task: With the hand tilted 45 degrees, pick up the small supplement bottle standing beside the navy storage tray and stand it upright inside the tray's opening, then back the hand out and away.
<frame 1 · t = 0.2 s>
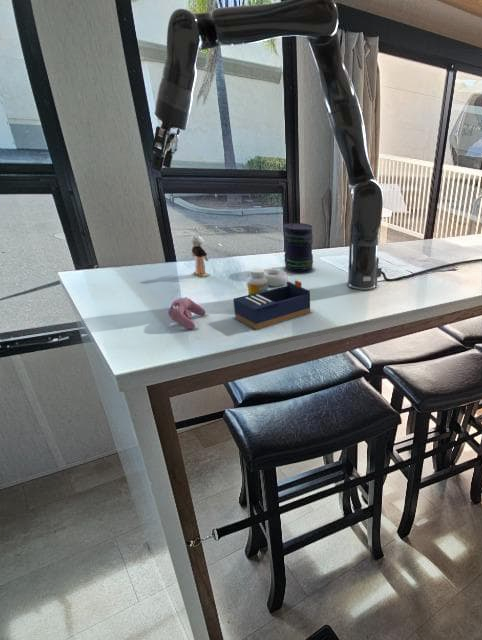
hand: (161, 168, 114), 31 cm above the table, tool tilted 20°, fingers open, 8 cm apart
supplement bottle: (259, 303, 122), on the table
navy storage tray: (274, 315, 115), on the table
storage jar: (299, 269, 151), on the table
donut: (272, 282, 137), on the table
grandmother figurine: (202, 275, 136), on the table
video game controller: (188, 322, 107), on the table
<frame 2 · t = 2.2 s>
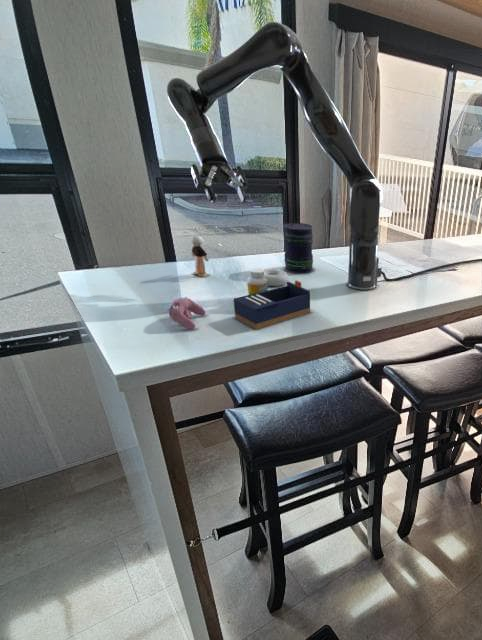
hand: (229, 200, 119), 25 cm above the table, tool tilted 45°, fingers open, 8 cm apart
nothing on the table moved.
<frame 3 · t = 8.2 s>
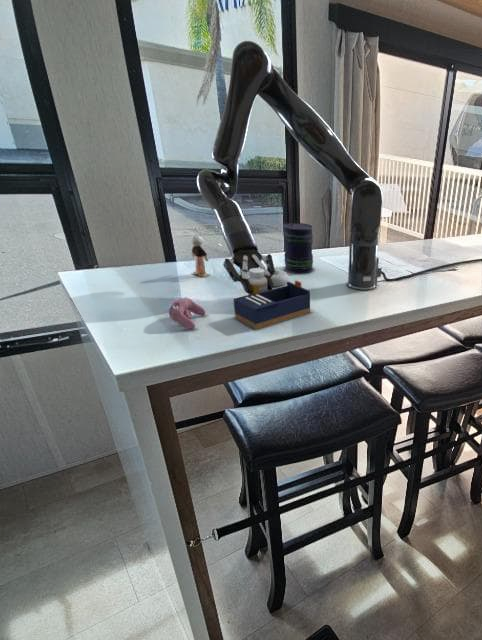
hand: (261, 291, 118), 4 cm above the table, tool tilted 45°, fingers closed on supplement bottle, 5 cm apart
supplement bottle: (259, 303, 122), on the table, touching gripper
everything else where it was.
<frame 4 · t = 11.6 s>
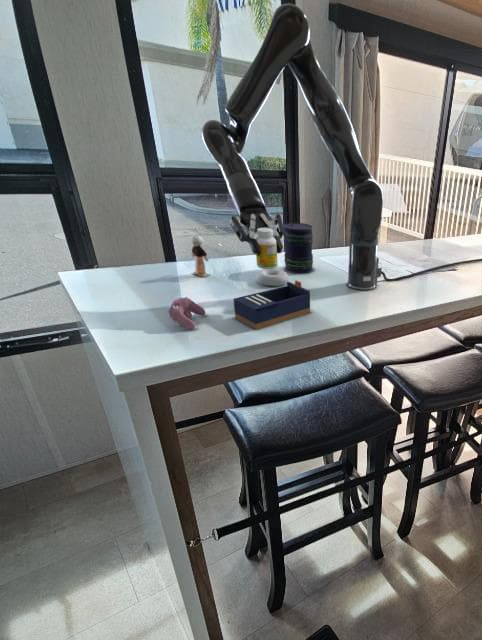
hand: (269, 252, 110), 16 cm above the table, tool tilted 45°, fingers closed on supplement bottle, 5 cm apart
supplement bottle: (267, 267, 114), point 12 cm above the table, touching gripper
everything else where it was.
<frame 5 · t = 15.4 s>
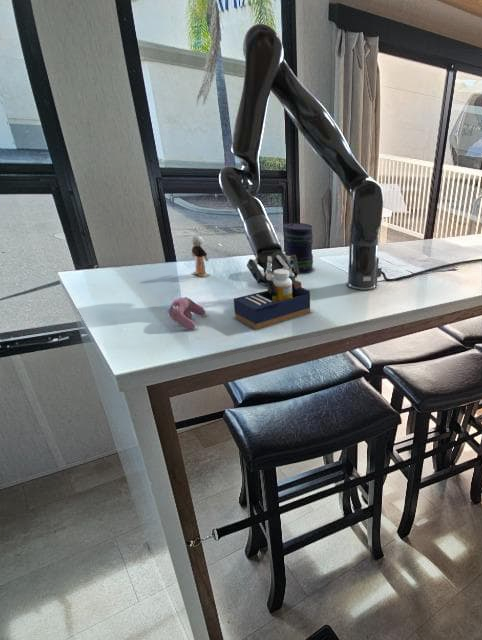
hand: (285, 293, 113), 6 cm above the table, tool tilted 45°, fingers closed on supplement bottle, 5 cm apart
supplement bottle: (282, 306, 117), point 2 cm above the table, touching gripper
everything else where it was.
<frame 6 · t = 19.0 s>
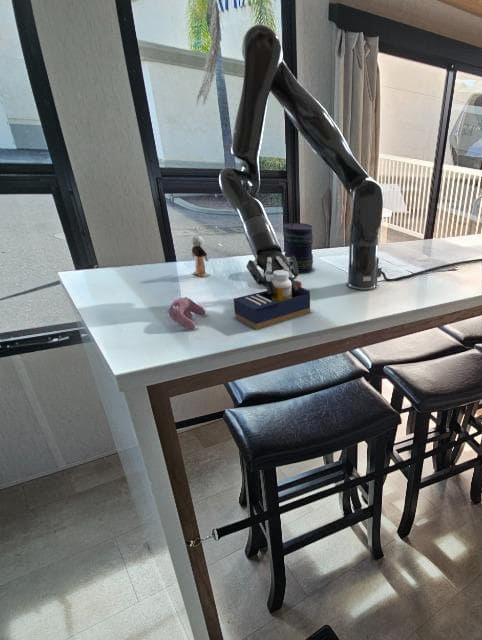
hand: (284, 294, 113), 6 cm above the table, tool tilted 45°, fingers closed on supplement bottle, 5 cm apart
supplement bottle: (282, 307, 117), point 2 cm above the table, touching gripper
everything else where it was.
when the fingers open (7 cm above the table, at t = 22.2 s): supplement bottle stays where it is, resting on navy storage tray.
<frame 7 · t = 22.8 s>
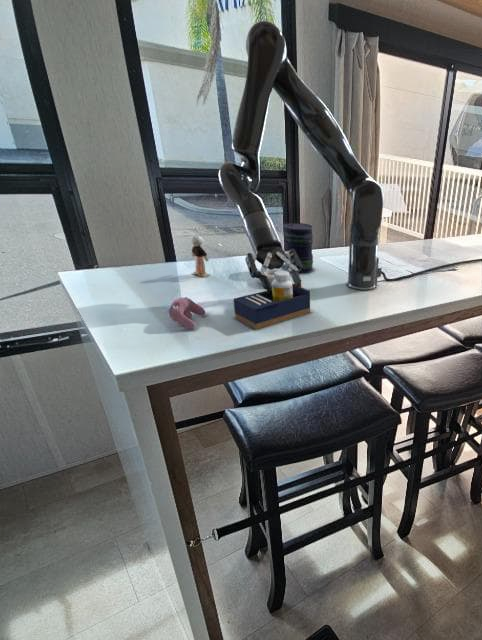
hand: (284, 287, 113), 8 cm above the table, tool tilted 45°, fingers open, 8 cm apart
supplement bottle: (283, 307, 117), point 1 cm above the table, touching navy storage tray
everything else where it was.
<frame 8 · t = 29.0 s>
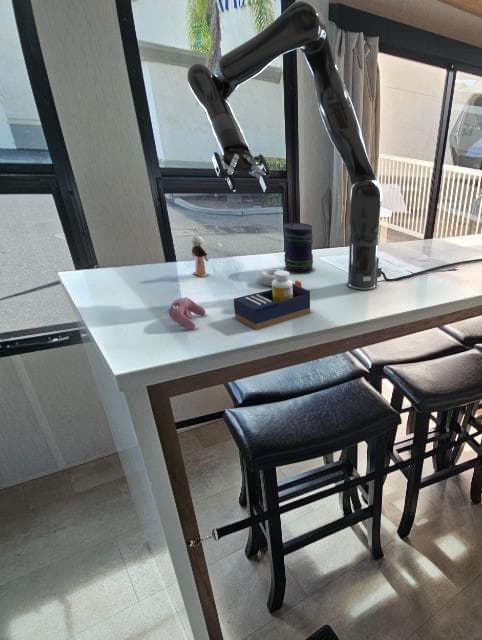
hand: (251, 190, 114), 29 cm above the table, tool tilted 45°, fingers open, 8 cm apart
nothing on the table moved.
at the end: supplement bottle inside the target area on the navy storage tray (0.2 cm from its centre), point 1.4 cm above the navy storage tray's base; supplement bottle tilted 0°; the gripper is holding nothing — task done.
